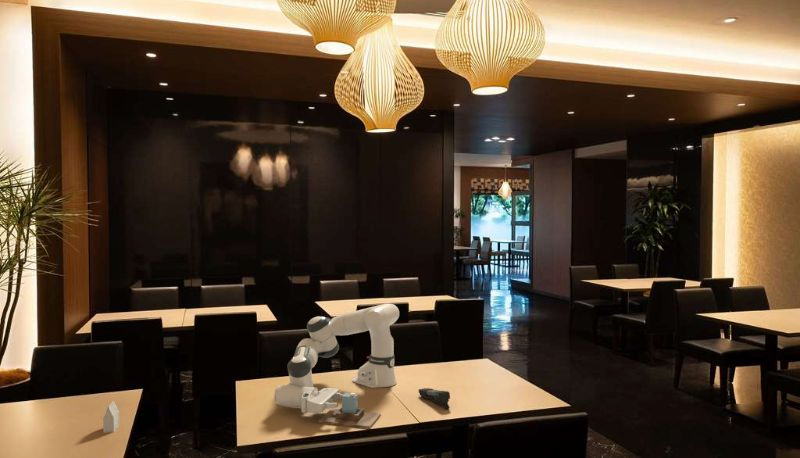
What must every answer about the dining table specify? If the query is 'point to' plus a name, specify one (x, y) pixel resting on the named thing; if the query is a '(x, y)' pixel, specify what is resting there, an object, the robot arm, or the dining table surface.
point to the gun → (436, 396)
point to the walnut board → (350, 418)
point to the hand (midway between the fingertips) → (341, 401)
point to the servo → (350, 403)
